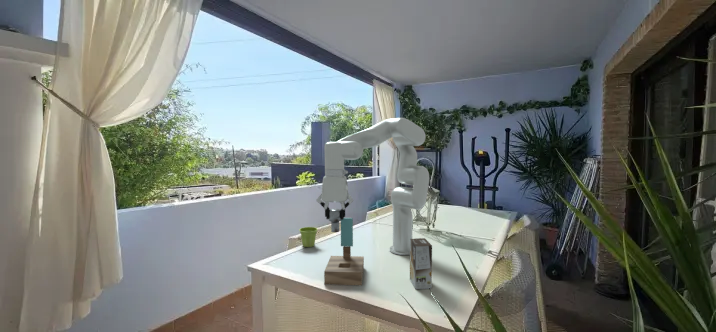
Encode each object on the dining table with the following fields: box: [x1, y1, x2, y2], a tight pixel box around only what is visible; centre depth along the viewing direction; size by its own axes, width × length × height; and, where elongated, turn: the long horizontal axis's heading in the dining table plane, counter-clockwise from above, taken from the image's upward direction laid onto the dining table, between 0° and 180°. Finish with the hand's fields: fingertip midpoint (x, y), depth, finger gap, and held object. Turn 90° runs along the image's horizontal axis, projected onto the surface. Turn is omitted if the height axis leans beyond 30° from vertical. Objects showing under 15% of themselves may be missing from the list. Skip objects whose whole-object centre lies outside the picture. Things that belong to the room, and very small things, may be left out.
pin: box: [328, 208, 342, 233], centre depth 122 cm, size 5×5×9 cm
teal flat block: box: [340, 217, 354, 247], centre depth 128 cm, size 12×5×1 cm
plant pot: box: [298, 226, 319, 248], centre depth 159 cm, size 9×9×9 cm
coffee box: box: [409, 237, 433, 290], centre depth 115 cm, size 9×6×16 cm
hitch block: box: [323, 246, 365, 286], centre depth 122 cm, size 16×14×10 cm
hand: (335, 218), depth 122 cm, fingers closed on pin, 5 cm apart
